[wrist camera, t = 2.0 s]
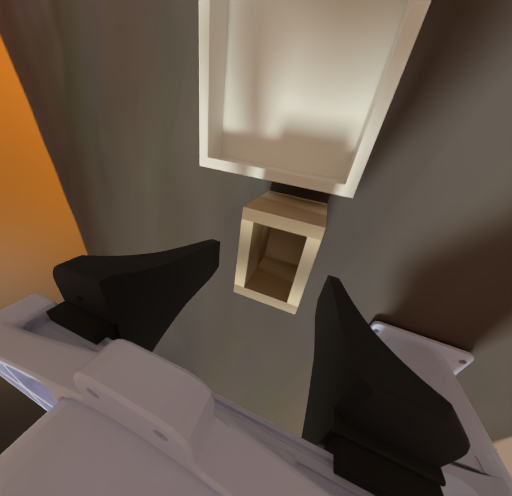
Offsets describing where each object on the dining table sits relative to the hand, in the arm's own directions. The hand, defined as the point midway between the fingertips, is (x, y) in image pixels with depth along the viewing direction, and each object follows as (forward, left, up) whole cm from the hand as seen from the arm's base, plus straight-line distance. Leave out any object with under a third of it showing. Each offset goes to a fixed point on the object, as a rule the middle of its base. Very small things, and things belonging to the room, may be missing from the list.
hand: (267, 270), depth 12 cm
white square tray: (+10, +2, -7) cm, 12 cm away
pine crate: (0, 0, -7) cm, 7 cm away
